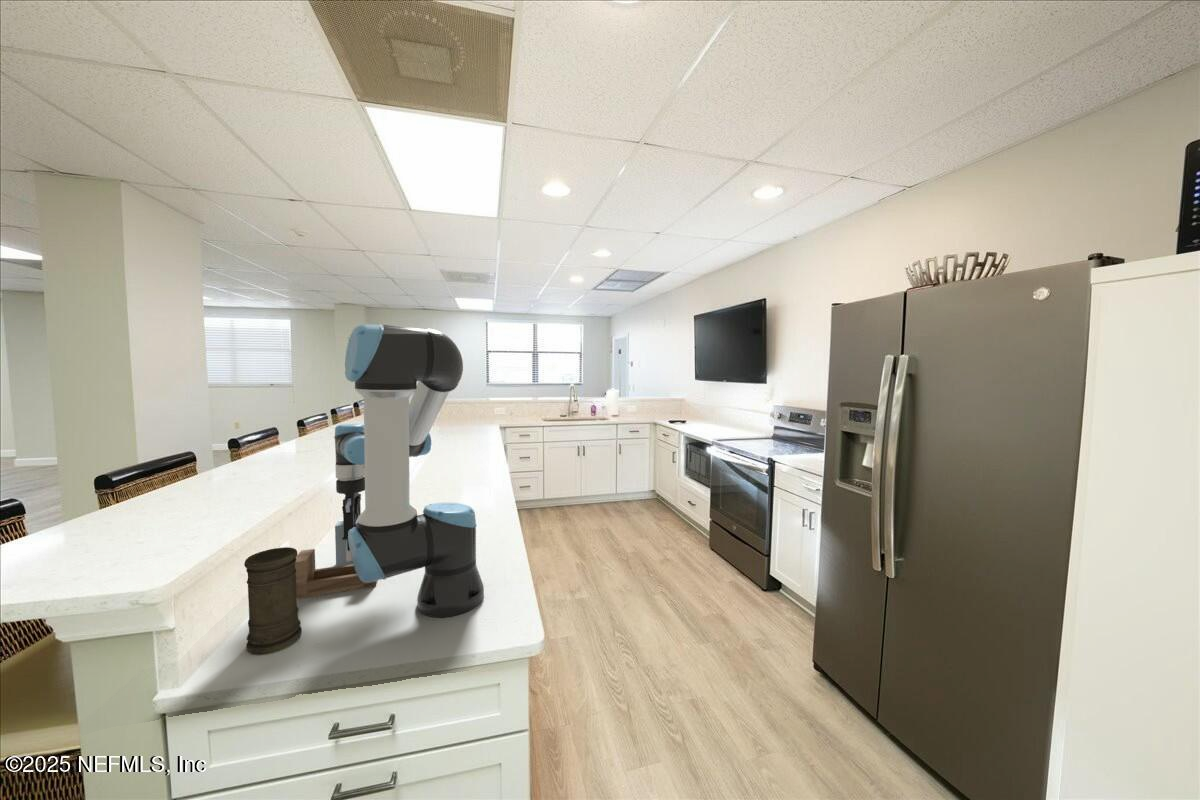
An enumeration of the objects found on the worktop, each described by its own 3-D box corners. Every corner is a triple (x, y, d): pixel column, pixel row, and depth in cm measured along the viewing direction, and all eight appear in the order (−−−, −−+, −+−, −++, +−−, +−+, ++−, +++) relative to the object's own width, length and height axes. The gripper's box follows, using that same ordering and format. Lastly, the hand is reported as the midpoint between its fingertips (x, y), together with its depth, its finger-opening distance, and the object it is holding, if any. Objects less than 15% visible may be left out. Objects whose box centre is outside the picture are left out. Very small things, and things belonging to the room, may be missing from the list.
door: (368, 563, 121) (367, 522, 120) (336, 567, 118) (335, 526, 117) (370, 557, 124) (369, 518, 124) (339, 561, 122) (338, 521, 121)
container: (291, 651, 82) (288, 561, 81) (236, 659, 79) (232, 567, 78) (309, 625, 90) (306, 543, 89) (259, 632, 88) (256, 548, 87)
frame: (375, 586, 107) (375, 551, 107) (292, 599, 101) (291, 562, 100) (379, 572, 115) (379, 540, 114) (302, 584, 108) (301, 550, 108)
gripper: (361, 483, 113) (363, 567, 114) (370, 470, 129) (372, 544, 130) (328, 485, 111) (331, 571, 112) (342, 472, 127) (344, 547, 128)
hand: (353, 556), depth 121 cm, fingers open, 4 cm apart
